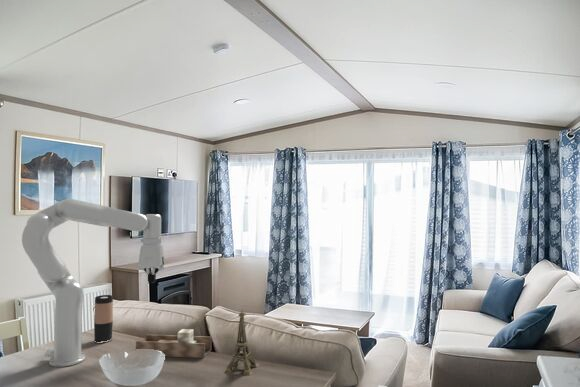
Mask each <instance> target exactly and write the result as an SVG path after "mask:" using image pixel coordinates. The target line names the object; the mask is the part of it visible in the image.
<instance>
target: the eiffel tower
mask: <svg viewBox="0 0 580 387" xmlns="http://www.w3.org/2000/svg"><path fill="white" fill-rule="evenodd" d="M245 316H246V312H245V311H244V312H243V310H241V311H240V312H239V313H238V317H239V322H238V323H239V324H238V330H237V331H238V332H237V340H236V342H234V343H235V344H234V345H235V349H234V353H233V354H232V359H231V360H230V361H229V363H228V365H227V366H226V368H225V369H224V371H222V373H223V374H231V373H232V372H233V371H234V366H239V365H240V364H241V362H242V364H243V370H244V372H243V376H252V374H253V373H254V371H252V368H258V367H259V366H260V363H258V362H257V360H256V359H255V358H254V357H253V356H252V354H251V351H250V349H249V345H248V344H249V340H247V334H246V324H245ZM241 349H242V351H241ZM248 362H249V363H250V365H249V363H248Z"/></svg>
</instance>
